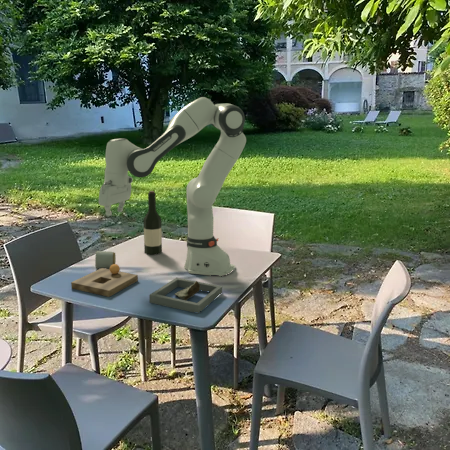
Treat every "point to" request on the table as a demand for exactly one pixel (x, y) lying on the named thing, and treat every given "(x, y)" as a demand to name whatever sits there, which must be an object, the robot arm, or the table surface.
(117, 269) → the rubber ball
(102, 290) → the board
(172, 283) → the slate dish rim
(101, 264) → the ceramic mug
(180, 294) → the rock sample
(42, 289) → the table surface
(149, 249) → the wine bottle
